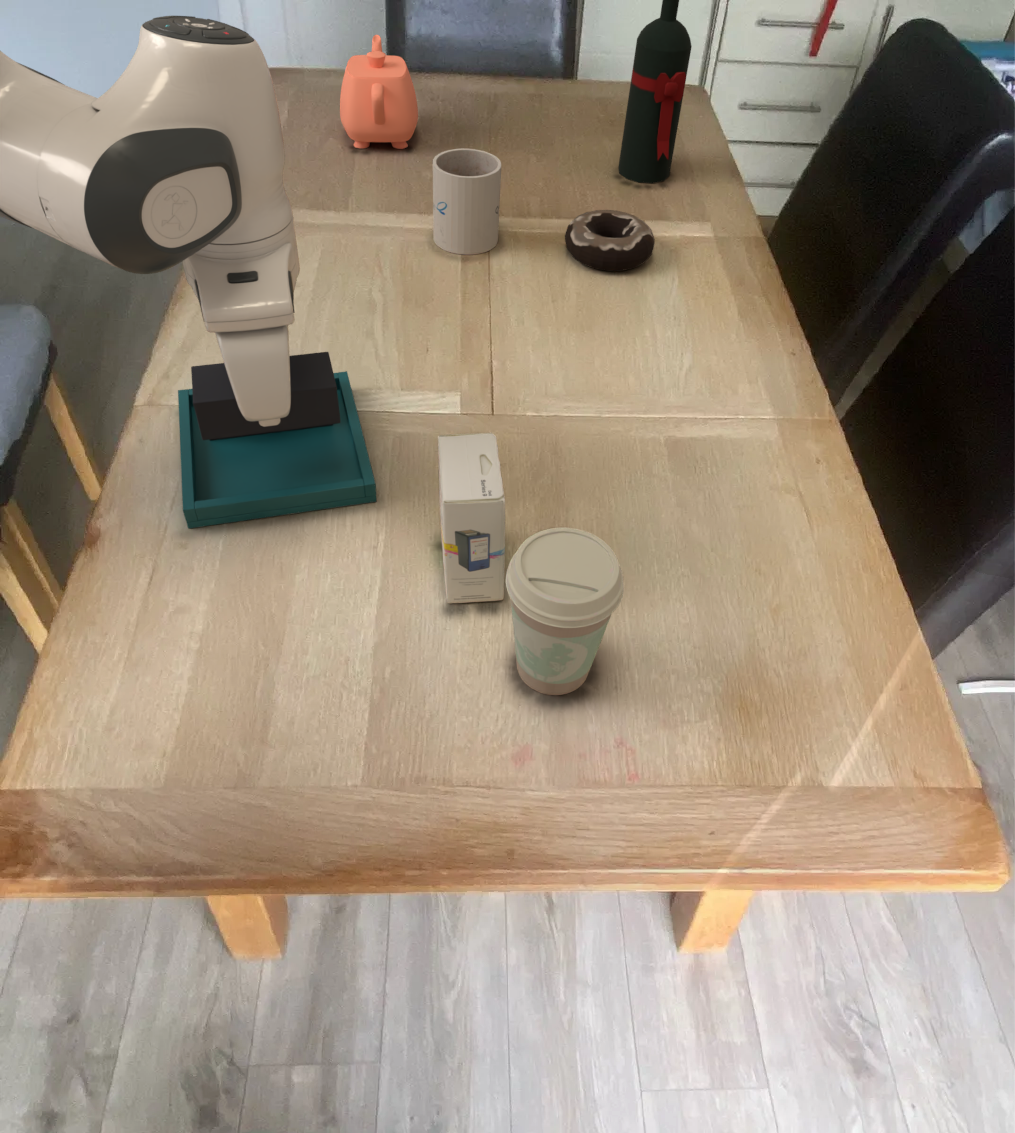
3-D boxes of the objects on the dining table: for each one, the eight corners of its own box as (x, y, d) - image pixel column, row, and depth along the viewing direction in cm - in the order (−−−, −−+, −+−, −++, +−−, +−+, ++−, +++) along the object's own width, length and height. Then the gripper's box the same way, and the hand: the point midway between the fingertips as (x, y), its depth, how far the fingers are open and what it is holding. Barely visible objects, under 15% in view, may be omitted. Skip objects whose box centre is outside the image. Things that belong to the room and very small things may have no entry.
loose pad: (202, 440, 79) (193, 403, 76) (200, 403, 82) (190, 366, 79) (340, 423, 81) (336, 386, 78) (332, 387, 85) (328, 351, 82)
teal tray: (188, 529, 81) (182, 510, 79) (182, 408, 93) (177, 389, 91) (376, 501, 85) (375, 483, 83) (348, 389, 96) (347, 371, 95)
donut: (621, 286, 114) (626, 257, 111) (545, 255, 118) (548, 226, 115) (668, 253, 120) (673, 224, 117) (594, 224, 125) (598, 196, 122)
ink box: (503, 602, 77) (511, 500, 68) (442, 605, 76) (442, 502, 68) (493, 531, 83) (499, 429, 74) (437, 534, 82) (436, 430, 73)
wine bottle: (632, 191, 132) (669, -50, 111) (610, 162, 139) (641, -71, 117) (682, 188, 134) (728, -51, 112) (658, 159, 141) (697, -71, 119)
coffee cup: (477, 666, 72) (481, 563, 63) (547, 608, 77) (560, 505, 68) (558, 730, 68) (574, 630, 60) (627, 665, 73) (651, 564, 64)
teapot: (421, 162, 136) (419, 76, 127) (341, 162, 134) (333, 75, 125) (415, 111, 149) (414, 29, 140) (343, 110, 148) (336, 28, 139)
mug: (496, 256, 117) (500, 179, 110) (430, 252, 117) (429, 175, 110) (499, 213, 126) (503, 139, 118) (437, 209, 126) (437, 135, 118)
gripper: (193, 195, 76) (223, 337, 86) (203, 326, 63) (237, 476, 73) (269, 190, 78) (290, 330, 88) (294, 317, 64) (315, 465, 75)
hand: (266, 397), depth 80 cm, fingers closed on loose pad, 5 cm apart
